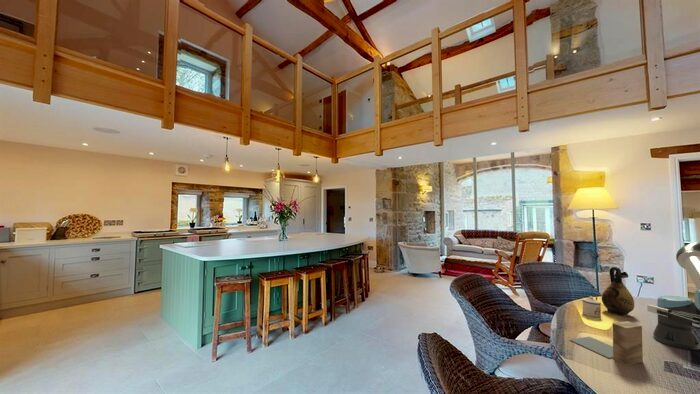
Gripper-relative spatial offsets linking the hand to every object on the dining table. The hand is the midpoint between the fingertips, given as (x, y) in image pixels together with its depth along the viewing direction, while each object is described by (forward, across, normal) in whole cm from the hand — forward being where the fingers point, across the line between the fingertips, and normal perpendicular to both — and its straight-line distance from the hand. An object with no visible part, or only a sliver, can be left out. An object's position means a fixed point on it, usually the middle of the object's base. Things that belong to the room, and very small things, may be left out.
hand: (648, 307), depth 113 cm
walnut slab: (+8, +1, -26) cm, 27 cm away
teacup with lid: (+51, +45, -26) cm, 73 cm away
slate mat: (+19, +1, -26) cm, 33 cm away
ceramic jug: (+49, +65, -26) cm, 86 cm away
